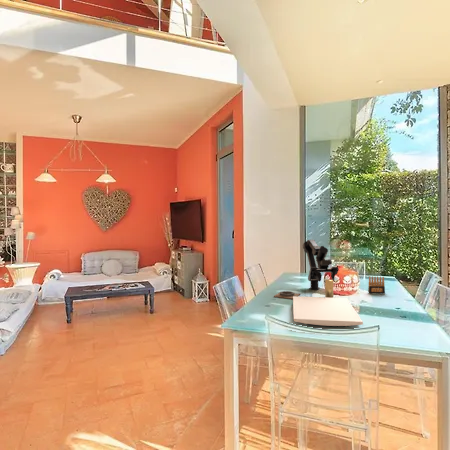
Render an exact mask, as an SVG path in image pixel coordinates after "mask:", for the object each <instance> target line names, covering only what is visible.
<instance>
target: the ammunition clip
mask: <svg viewBox="0 0 450 450" xmlns="http://www.w3.org/2000/svg"><path fill="white" fill-rule="evenodd" d="M367 288H368V289H367V293H368V292H369V293H368V294H372V293H385V294H386V289H385V288H386V287H385V276H381V275H380V276H378V275H377V276H374V275H373V276H369V277H368V287H367Z"/></svg>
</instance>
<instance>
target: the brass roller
mask: <svg viewBox="0 0 450 450" xmlns="http://www.w3.org/2000/svg"><path fill="white" fill-rule="evenodd" d="M324 284H325V285H324V289H325V291H324V293H325V294H324V297H328V298H334V281H333V280H332V279H325V280H324Z"/></svg>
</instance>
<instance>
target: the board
mask: <svg viewBox="0 0 450 450" xmlns="http://www.w3.org/2000/svg"><path fill="white" fill-rule="evenodd" d="M292 303H293V304H292V305H293V306H292V308H293V310H292V312H293V321H294V322H296V323H302V324H303V325H305V324H306V325H315V326H328V327H329V326H332V327H337V326H338V327H343V326H345V327H347V326H349V327H350V326H361V325H362V326H363V325H364V322H363V320H362V319H361V317H360V315H359V314H358V312H357V311H356V309H355V308H354V307H353V305H352V303H350V301H349V299H348V298H347V297H333V298H328V297H325V296H324V297H323V296H322V297H321V296H298V297H297V296H293V299H292Z"/></svg>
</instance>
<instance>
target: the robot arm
mask: <svg viewBox="0 0 450 450" xmlns="http://www.w3.org/2000/svg"><path fill="white" fill-rule="evenodd" d="M302 250H303V252H305V254H306V256H307V260H308V264H309V273H308V276H307V280H308V281H309V282H310V286H309V288H308V289H309V290H315V291H318V290H320V286H319V283H320V282H321V281H322V276H323V275H322V273H330V276H331V280H333V282H335V276H336V275H337V274H338V273H339V271H340V270H339V267H338V266H331V268H329V266H330V265H332V263H333V262H332V259H331V258H329V259H326V257H327V256H328V253H329V250H328V248H327V247H325V246H324V245H321V246H319V245H318V244H317V242H316V240H315V239H307V240H306V241H304V242H303V243H302ZM316 263H317V264H316Z"/></svg>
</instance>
